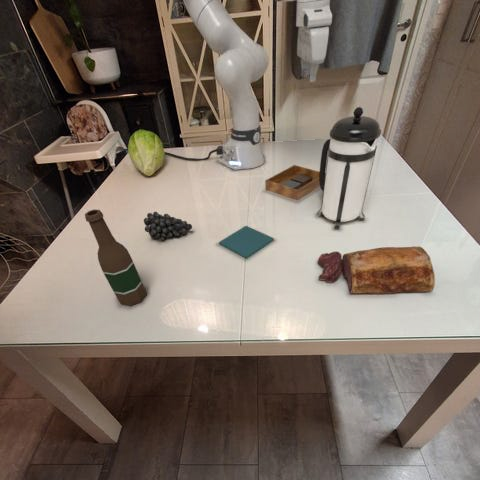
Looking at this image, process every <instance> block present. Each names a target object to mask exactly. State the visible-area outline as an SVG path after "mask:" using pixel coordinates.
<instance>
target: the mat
mask: <svg viewBox="0 0 480 480" xmlns="http://www.w3.org/2000/svg"><path fill="white" fill-rule="evenodd" d="M274 241H275V238H274V237H272V236H270V235H267V234H265V233H263V232H261V231H259V230H256V229H254V228H252V227H250V226H248V225H245V226H243V227H241V228H240V229H238V230H237V231H235V232H233V233H232V234H230V235H228V236H227V237H225V238H223V239H222V240H219V242H218V244H219V246H221V247H223V248H225V249H226V250H229V251H231V252H233V253H235V254H236V255H239V256H240V257H243V258H244V259H249V258H250V257H252V256H253V255H255V254H256V253H257V252H259V251H261V250H262V249H264V248H266V246H268V245H269V244H271V243H272V242H274Z"/></svg>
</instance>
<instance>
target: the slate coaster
mask: <svg viewBox="0 0 480 480" xmlns="http://www.w3.org/2000/svg"><path fill="white" fill-rule="evenodd" d="M281 185H284V186H287V187H290V188H293V189H297V190H298V189H300V188H301V183H298V182H295V181H291V180H287V181H285V182H284V183H282V184H281Z"/></svg>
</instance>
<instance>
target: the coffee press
mask: <svg viewBox="0 0 480 480" xmlns="http://www.w3.org/2000/svg"><path fill="white" fill-rule="evenodd" d="M352 113H353V116H347V117H344V118H341V119H339V120H337V121H336V122H335V123H334V124H333V126H332V128H331V129H330V130H329V138H328V139H327V140H325V142H324V143H323V146H322V149H321V156H320V164H319V184H320V187H319V188H320V189H321V192H322V197H321V198H322V199H321V206H320V208H319V210H317V212H316V215H318V214H319V213H320V211H321V212H322V213H321V214H320V215H318V217H319V218H320V217H322V216H324V217H325V218H326V219H328V220H330V221H332V222H335V224H334V229H335V230H339V229H340V226H341V223H344V222H351V221H353V220H355V219H358V220H359V221H360V222H363V221H364V220H365V218H366V216H365V214H364V212H363V209H364V205H365V200H366V196H367V195H366V194H367V191H368V187H369V184H370V183H369V182H370V179H371V175H372V170H373V165H374V161H375V158H376V157H375V156H376V151H377V149H378V148H377V147H378V146H377V143H378V140H379V138H380V136H381V133H382V130H381V128H380V127H381V126H380V124H379V122H378V121H377V120H376V119H375V118H372V117H370V116H364V115H363V114H364V109H363V107H361V106H358V107H356V108H355V109H354V110H353V112H352ZM360 215H361V216H362V217H363V218H362V217H361V216H360Z"/></svg>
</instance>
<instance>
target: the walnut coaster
mask: <svg viewBox="0 0 480 480" xmlns="http://www.w3.org/2000/svg"><path fill="white" fill-rule="evenodd" d="M312 179H313V177H312V176H308V175H305V174H301V173H300V174H298V175H296V176H294V177H293V178H291V179H290V180H291V181H295V182H298V183H301V187H303V186H305V185H306V184H308V183H310V182H312Z"/></svg>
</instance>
